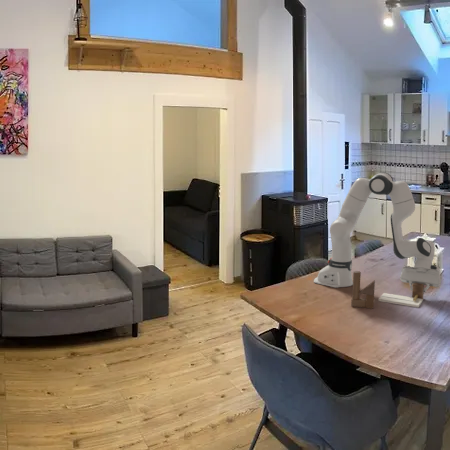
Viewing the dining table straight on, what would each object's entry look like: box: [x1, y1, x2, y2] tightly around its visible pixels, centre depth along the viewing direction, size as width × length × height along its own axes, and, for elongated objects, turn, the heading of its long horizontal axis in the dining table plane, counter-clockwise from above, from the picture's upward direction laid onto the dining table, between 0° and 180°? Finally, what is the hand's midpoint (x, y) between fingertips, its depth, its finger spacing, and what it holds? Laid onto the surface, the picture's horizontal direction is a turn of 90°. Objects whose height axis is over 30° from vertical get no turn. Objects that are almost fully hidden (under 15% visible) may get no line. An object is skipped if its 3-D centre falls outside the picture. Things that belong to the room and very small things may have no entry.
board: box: [378, 292, 424, 308], centre depth 268 cm, size 20×11×1 cm, turn 59°
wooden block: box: [350, 270, 376, 310], centre depth 259 cm, size 4×11×18 cm, turn 66°
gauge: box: [411, 283, 425, 301], centre depth 268 cm, size 5×12×8 cm, turn 149°
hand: (417, 290), depth 271 cm, fingers closed on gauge, 5 cm apart
